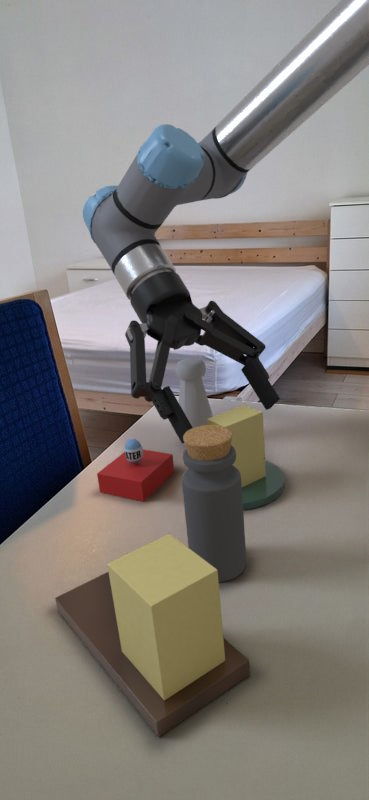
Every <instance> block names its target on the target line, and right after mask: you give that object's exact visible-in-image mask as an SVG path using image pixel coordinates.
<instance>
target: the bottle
mask: <svg viewBox="0 0 369 800" xmlns="http://www.w3.org/2000/svg"><path fill="white" fill-rule="evenodd" d="M183 440H184V443H185V444H184V446H185V449H184V451H183V452H182V462H183V464H184V466H185V467H186V468H187V469H185V471H184V472H183V474H182V475H181V486H182V497H183V508H184V516H185V517H184V518H185V526H186V536H187V547H188V548H189V549H191V550H192V551H193V552H195V553H196V554H197V555H199V556H200V557H201V558H202V559H204V560H205V561H206V562H208V563H209V564H210V565H212V566H213V567H214V568H216V569H217V570H218V582H219V583H222V582H227V581H231V580H233V579H235V578H237V577H240V575H241V574H242V573H243V572H244V571H245V569H246V567H247V552H246V551H247V547H246V531H245V517H244V516H245V515H244V514H245V513H244V510H243V498H242V484H241V474H240V472H239V470H238V469H237V468H236V467H235V466H233V464H234V462H235V461H236V451H235V448H234V447H233V446H232V445H231V441H232V432H231V430H230V429H228V428H226V427H224V426H219V425H203V426H198V427H195V428H192V429H190V430H188V431H187V432H186V433H185V434H184V436H183Z"/></svg>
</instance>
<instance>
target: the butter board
mask: <svg viewBox="0 0 369 800" xmlns="http://www.w3.org/2000/svg"><path fill="white" fill-rule="evenodd" d="M54 600H55V605H56V609H57V611H58V613H59V615H61V616H62V618H63V619H64V620H65V622H66V623H67V625H69V626H70V628H71V629H72V630H73V631H74V633H75V634H76V635H77V636H78V638H79V639H80V640H81V642H82V643H83V644H84V645H85V646H86V648H87V649H88V650H89V652H90V653H91V654H92V656H93V657H94V658H95V659H96V660H97V662H98V663H99V664H100V665H101V667H102V668H103V669H104V671H105V672H106V673H107V674H108V675H109V677H110V678H111V680H112V681H113V682H114V683H115V684H116V686H117V687H118V688H119V689H120V691H121V692H122V693H123V694H124V696H125V697H126V698H127V699H128V701H129V702H130V703H131V704H132V706H133V707H134V709H136V711H137V712H138V713H139V715H140V716H141V717H142V718H143V719H144V721H145V722H146V723H147V724H148V726H149V727H150V729H151V730H152V731H153V732H154V734H155V735H156V736H157V738H160V737H161V736H163V735H165V734H166V733H167V732H169V731H170V730H171V729H173V728H175V727H176V726H177V725H178V724H180V723H182V722H183V721H185V720H186V719H187V718H189V717H190V716H192V715H193V714H195V713H196V712H197V711H199V710H201V709H202V708H203V707H205V706H206V705H208V704H209V703H210V702H212V701H213V700H215V699H216V698H218V697H219V696H221V695H222V694H224V693H226V691H228V690H230V689H231V688H233V687H234V686H235V685H237V684H238V683H240V682H241V681H243V680H244V679H245V678H247V677H248V676H250V675H251V668H250V659H249V658H247V657H246V655H244V654H243V653H242V652H241V651H240V650H238V649H237V648H236V647H235V646H234V645H232V644H231V643H230V642H229V641H228V640H227V639H226V638H225V637H223V640H224V652H225V661H224V662H223V663H221V664H220V665H218V666H217V667H215V668H213V669H212V670H210V671H209V672H207V673H206V674H204V675H203V676H201V677H200V678H198V679H197V680H195V681H194V682H192V683H191V684H189V685H188V686H186V687H185V688H183V689H181V690H180V691H178V692H177V693H175V694H174V695H172V696H171V697H169V698H168V699H166V700H163V698H162V697H161V696H160V695H159V694H158V693H157V692H156V690H155V689H154V688H153V687H152V686H151V685H150V683H149V682H148V681H147V680H146V679H145V678H144V676H143V675H142V674H141V673H140V672H139V671H138V670H137V668H136V667H135V666H134V665H133V664H132V663H131V661H130V660H129V659H128V658H127V657H126V656H125V655H124V653H123V652H122V649H121V643H120V637H119V631H118V625H117V619H116V613H115V607H114V601H113V595H112V589H111V583H110V577H109V571H107V572H105V573H102V574H100V575H99V576H97V577H95V578H92V579H90V580H88V581H86V582H84V583H82V584H80V585H78V586H76V587H74V588H72V589H70V590H68V591H66V592H64V593H62V594H60V595H58V596H56V597H54Z"/></svg>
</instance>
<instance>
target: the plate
mask: <svg viewBox="0 0 369 800" xmlns="http://www.w3.org/2000/svg"><path fill="white" fill-rule="evenodd" d="M265 472H266V476H265V477H263V478H261V479H259V480H257V481H255V482H253V483H250V484H248V485H246V486H244V487H242V498H243V511H245V510H253V509H257V508H260V507H263V506H265V505H268V504H270V503H272V502H274V501H275V500H276V499H278V498H279V497H280V496H281V495H282V493H283V492H284V489H285V485H286V484H285V474H284V473H283V471H282V469H280V468H279V466H277V465H276V464H274V463H272V462H270V461H268V460H265Z"/></svg>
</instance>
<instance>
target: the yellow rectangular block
mask: <svg viewBox="0 0 369 800" xmlns="http://www.w3.org/2000/svg"><path fill="white" fill-rule="evenodd" d="M263 413H264V412H263V411H261V410H258V409H256V408H253V407H251V406H249V405H246V404H242V405H240V406H237V407H235V408H232V409H230V410H229V409H228V410H227V411H224V412H221V413H219V414H216V415H213V417H211V418H208V419H207V424H208V425H219V426H224V427H226V428H228V429H230V430H231V432H232V441H231V445H232V446H233V447H234V448H235V451H236V461H235V462H234V464H233V466H235V467H236V468H237V469H238V470H239V472H240V474H241V484H242V487H244V486H246V485H248V484H250V483H253V482H255V481H257V480H259V479H261V478H263V477H265V476H266V472H265V461H266V453H265V452H266V451H265V450H266V449H265V434H264V433H265V430H264V414H263Z"/></svg>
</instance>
